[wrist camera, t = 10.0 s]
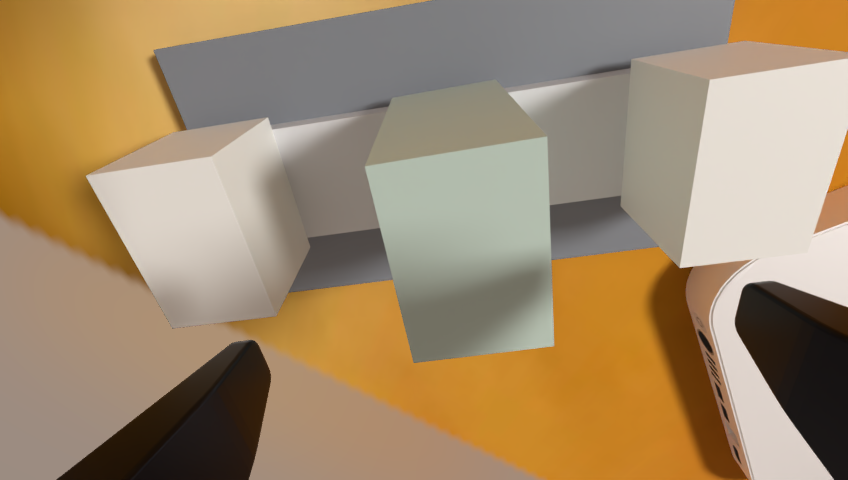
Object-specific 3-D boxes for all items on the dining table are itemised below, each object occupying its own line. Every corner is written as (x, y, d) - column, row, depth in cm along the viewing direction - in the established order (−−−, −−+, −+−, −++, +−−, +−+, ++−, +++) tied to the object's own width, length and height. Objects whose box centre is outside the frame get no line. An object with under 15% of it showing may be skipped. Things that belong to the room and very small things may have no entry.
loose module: (495, 79, 16) (546, 136, 9) (507, 220, 19) (554, 346, 12) (392, 97, 16) (364, 166, 9) (419, 232, 19) (413, 362, 12)
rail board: (726, -52, 16) (918, -89, 10) (682, 232, 21) (784, 324, 15) (167, 47, 17) (25, 70, 11) (264, 285, 23) (204, 385, 17)
